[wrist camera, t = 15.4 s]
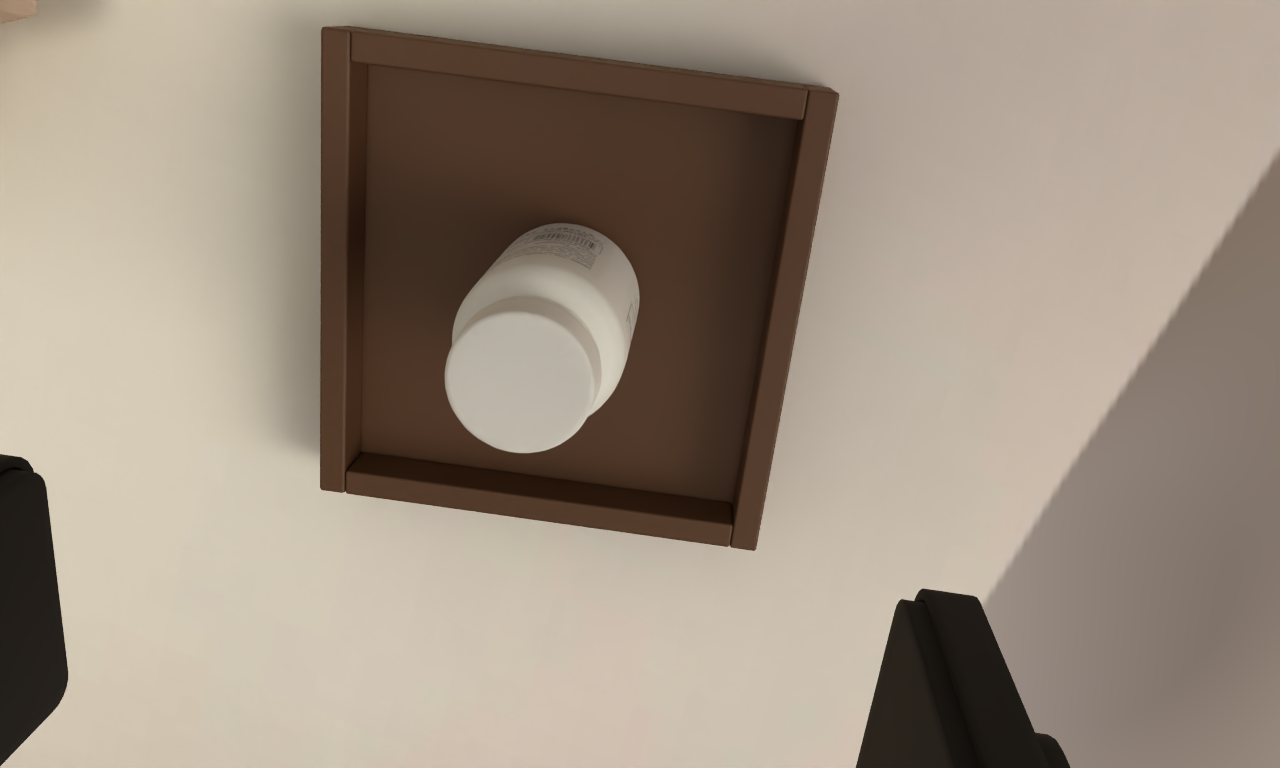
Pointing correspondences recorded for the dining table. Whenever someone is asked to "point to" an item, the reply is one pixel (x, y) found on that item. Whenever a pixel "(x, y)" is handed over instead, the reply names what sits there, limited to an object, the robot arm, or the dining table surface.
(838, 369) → the dining table surface
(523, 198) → the tray
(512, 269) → the pill bottle
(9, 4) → the decorative flower
